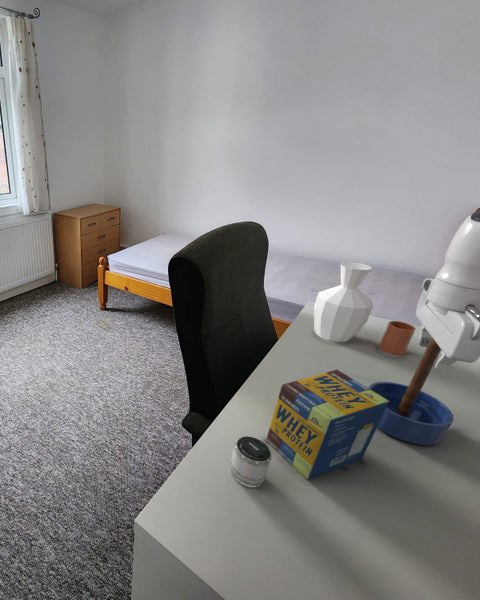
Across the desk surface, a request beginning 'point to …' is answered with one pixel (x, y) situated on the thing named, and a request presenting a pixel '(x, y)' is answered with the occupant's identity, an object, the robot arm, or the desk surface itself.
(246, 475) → the small jar
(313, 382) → the protein box
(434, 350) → the stick
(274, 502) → the desk surface
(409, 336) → the holder
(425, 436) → the bowl
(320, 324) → the vase
